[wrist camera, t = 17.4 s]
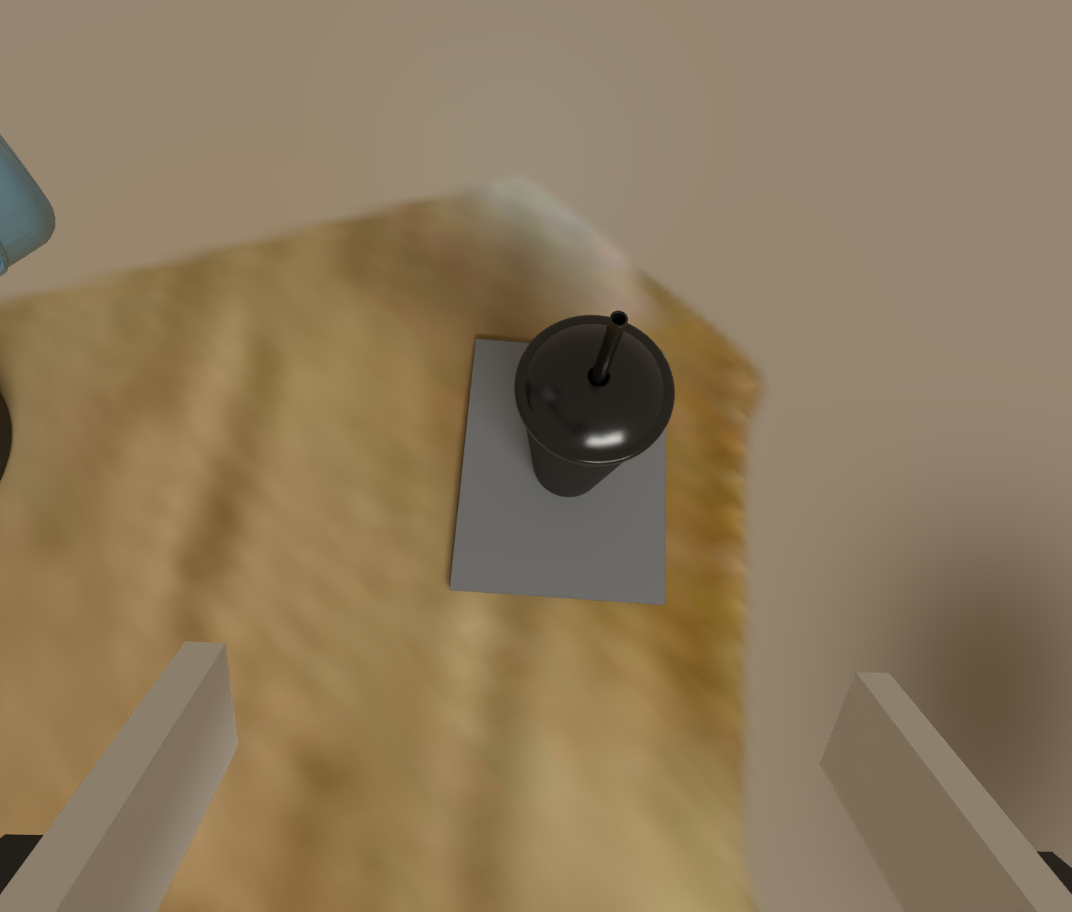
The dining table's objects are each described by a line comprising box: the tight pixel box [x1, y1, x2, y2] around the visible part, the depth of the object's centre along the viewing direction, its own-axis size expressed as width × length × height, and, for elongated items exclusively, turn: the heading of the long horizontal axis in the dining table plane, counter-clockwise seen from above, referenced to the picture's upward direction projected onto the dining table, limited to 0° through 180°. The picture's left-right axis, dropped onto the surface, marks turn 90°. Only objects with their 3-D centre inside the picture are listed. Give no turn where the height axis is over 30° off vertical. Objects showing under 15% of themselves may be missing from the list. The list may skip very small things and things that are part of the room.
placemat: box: [450, 339, 666, 605], centre depth 42 cm, size 14×18×1 cm
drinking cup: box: [514, 311, 675, 497], centre depth 32 cm, size 8×8×20 cm
